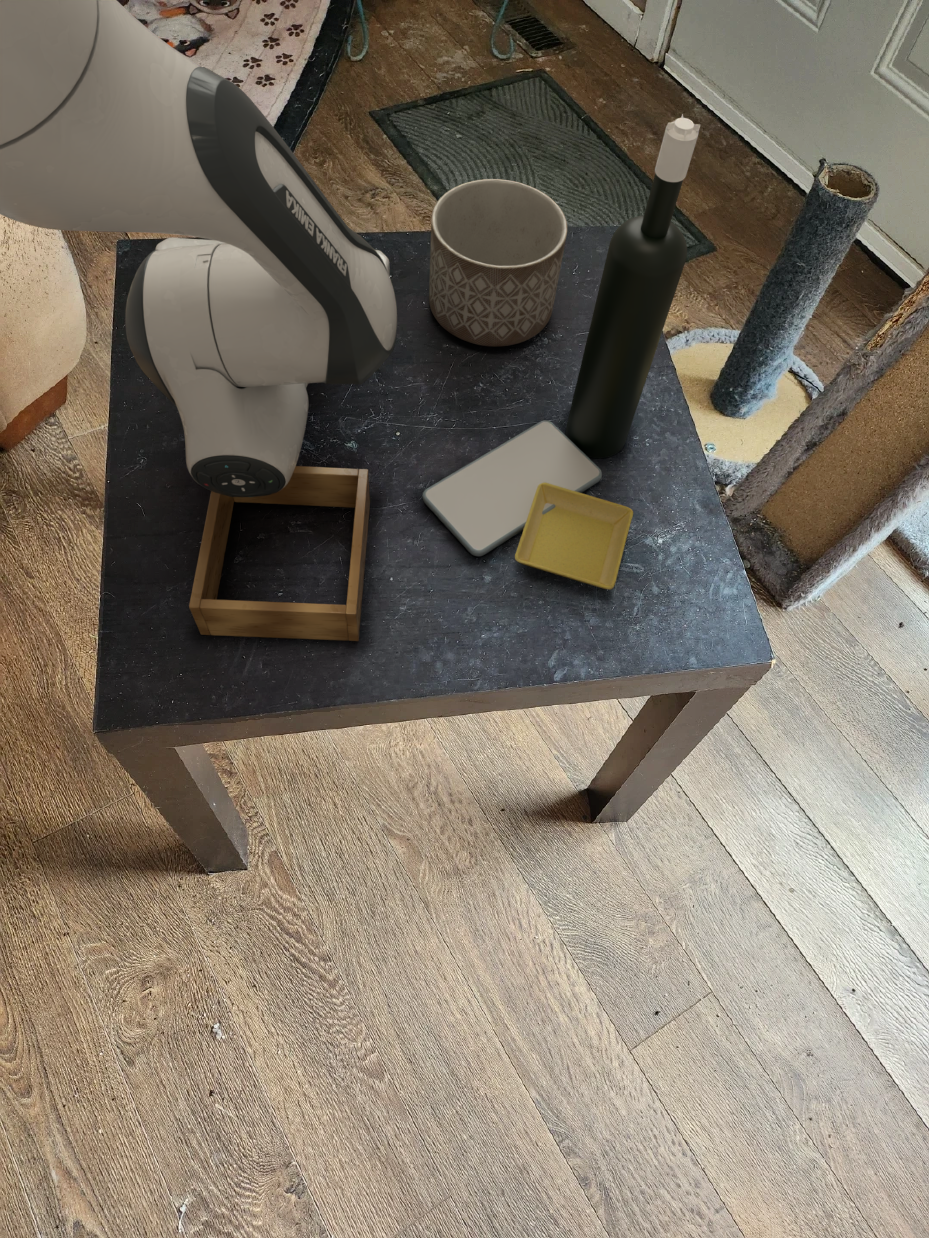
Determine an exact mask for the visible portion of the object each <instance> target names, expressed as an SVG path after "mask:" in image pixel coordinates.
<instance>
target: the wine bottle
mask: <svg viewBox="0 0 929 1238" xmlns="http://www.w3.org/2000/svg"><path fill="white" fill-rule="evenodd" d="M700 128H701V123H699V124H697V123H694V122H693V121H692V120H691V119H689V118H687V117H684V114H683V113H682V114H681V117H679V118H675V120H673V121H671V122H667V125H665V130H664V133H663V137H662V140H661V145H660V149H659V152H658V156H657V160H656V164H655V168H654V177H653V179H652V184H651V188H650V192H649V195H648V199H647V203H646V206H645V207H646V208H645V210H644V214H643V215H637V216H634V217H631V218H629V219H627V220H625V221H624V222H622V223H621V224H620V225H619V226H618V227H617V229H616V230H615V231H614V232H613V234H612V235H611V239H610V241H609V246H608V249H607V253H606V258H605V261H604V266H603V271H602V275H601V279H600V282H599V288H598V292H597V296H596V300H595V304H594V308H593V313H592V316H591V321H590V325H589V330H588V334H587V338H586V342H585V346H584V350H583V355H582V358H581V363H580V367H579V372H578V375H577V379H576V384H575V388H574V389H575V390H574V393H573V396H572V402H571V405H570V408H569V409H570V410H569V413H568V417H567V421H566V426H565V436H567V437H568V438H569V439H570V440H571V441H572V442H573V443H574V444H575V445H576V446H577V447H578V448H579V449H580V450H581V451H582V452H583V453H584V454H585V455H586V456H587V457H588V458H593V459H605V458H610V457H613V456H615V455H617V454H618V453H619V452H620V451H621V450H622V449H623V448H624V446H625V444H626V442H627V439H628V436H629V432H630V429H631V427H632V423H633V421H634V418H635V414H636V412H637V410H638V409H637V408H638V406H639V403H640V400H641V396H642V393H643V390H644V388H645V385H646V382H647V378H648V376H649V373H650V369H651V367H652V364H653V360H654V357H655V354H656V352H657V348H658V346H659V343H660V339H661V336H662V334H663V330H664V328H665V325H666V322H667V318H668V316H669V313H670V309H671V307H672V303H673V300H674V298H675V295H676V292H677V288H678V285H679V282H680V280H681V276H682V273H683V271H684V267H685V265H686V262H687V257H688V245H687V241H686V238H685V236H684V234H683V232H682V231H681V229H680V228H679V227H678V226H677V225H676V223H674V222H673V221H672V219H673V215H674V212H675V209H676V206H677V202H678V200H679V199H678V198H679V196H680V192H681V189H682V185H683V182H684V180H685V178H687V175H688V172H689V171H688V170H689V167H690V163H691V160H692V157H693V154H694V151H695V148H696V144H697V140H698V138H699V134H700V133H699V132H700V130H701V129H700Z"/></svg>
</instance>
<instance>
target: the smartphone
mask: <svg viewBox="0 0 929 1238" xmlns="http://www.w3.org/2000/svg"><path fill="white" fill-rule="evenodd" d="M602 476H603V472H602V470H601V468H600V467H599V466H597V464H596V463H595V462H594V461H593V460H592V459H590V457H588V456H586V455H585V454H584V453H583V452H582V451H581V450H580V449H579V448H578V447H577V446H576V445H575V444H574V443H573V442H572V441H571V440H570V439H569V438H568V437H567V436H566V434H565V433H564V432H563V431H562V430H561V429H560V428H559V427H557V426H556V425H555V424H554V422H552V421H550V420H547V419H546V420H545V419H544V420H541V421H539V422H537V423H536V424H533V425H532V426H531V427H529V428H527V429H525V430H523V431H522V432H521V433H519V434H516V435H515V436H514V437H511V438H510V439H507V441H505V442H504V443H502V444H500V445H498V446H497V447H495V448H493V449H491V450H490V451H488V452H487V453H485V454H483V455H481V456H480V457H478V458H476V459H474V460H473V461H471V462H469V463H467V464H466V465H464V466H462V467H461V468H459V469H458V470H456V471H453V472H452V473H451V474H449V475H448V476H445V477H444V478H442V479H441V480H439V481H437V482H435V483H434V484H433V485H430V486H429V487H427V488H426V489H424V490H423V492H422V501H423V503H424V504H425V505H426V506H427V507H428V508H429V509H430V510H431V511H432V513H433V514H434V515H435V516H436V517H437V518H438V519H439V521H441V522H442V524H443V525H444V526H445V527H446V528H447V529H448V530H449V531H450V533H452V535H453V536H454V537H455V538H456V539H457V540H458V541H459V543H460V544H461V545H462V546H463V547H464V548H465V549H466V550H467V551H468V552H469V554H471V556H474V557H482V556H484V555H486V554H488V553H490V552H491V551H492V550H494V549H495V548H497V547H499V546H500V545H502V544H504V543H505V542H506V541H508V540H510V539H511V538H513V537H514V536H516V535H517V534H520V533H521V532H523V530H524V527H525V524H526V521H527V518H528V515H529V512H530V508H531V505H532V502H533V499H534V496H535V493H536V490H537V487H538V485H539V484H541V483H544V482H545V483H549V484H552V485H556V486H560V487H563V488H566V489H569V490H572V491H576V492H579V493H582V494H583V492H585V491H586V490H588V489H589V488H591V487H593V486H594V485H596V484H597V483H599V482H600V481H601V479H602V478H603V477H602ZM553 508H555V505H554V504H549V503H546V504H545V506H544V509H543V511H542V514H545V513H547V512H549V511H550V510H552V509H553Z"/></svg>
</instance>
